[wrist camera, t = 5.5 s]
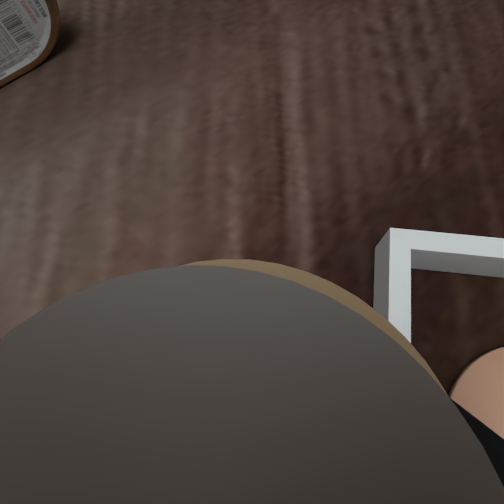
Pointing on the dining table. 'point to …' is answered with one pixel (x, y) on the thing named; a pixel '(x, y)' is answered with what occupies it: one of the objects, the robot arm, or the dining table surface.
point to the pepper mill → (227, 398)
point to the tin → (26, 35)
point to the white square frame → (447, 260)
